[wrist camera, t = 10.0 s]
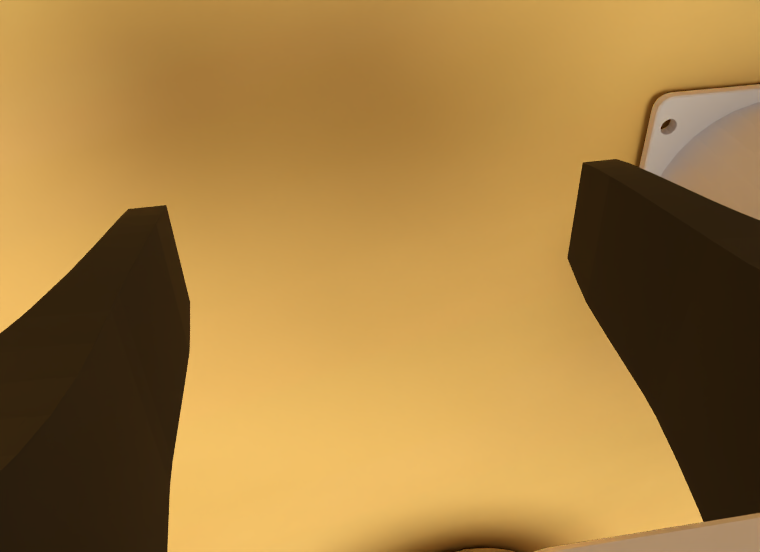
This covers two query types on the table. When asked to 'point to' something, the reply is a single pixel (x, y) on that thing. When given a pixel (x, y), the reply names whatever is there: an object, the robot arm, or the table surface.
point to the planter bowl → (485, 550)
